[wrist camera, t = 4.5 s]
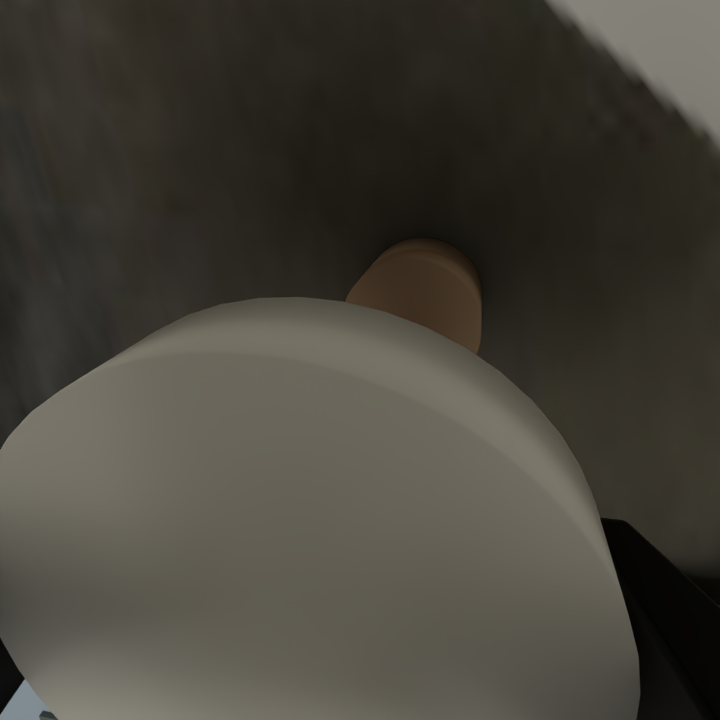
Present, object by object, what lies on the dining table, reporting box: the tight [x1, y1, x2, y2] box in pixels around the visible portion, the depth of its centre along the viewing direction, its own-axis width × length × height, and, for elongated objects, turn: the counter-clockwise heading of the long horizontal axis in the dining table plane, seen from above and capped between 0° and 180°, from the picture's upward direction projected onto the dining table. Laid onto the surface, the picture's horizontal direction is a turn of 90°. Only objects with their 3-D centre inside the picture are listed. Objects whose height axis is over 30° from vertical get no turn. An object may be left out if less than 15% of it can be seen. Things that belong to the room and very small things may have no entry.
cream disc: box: [0, 297, 640, 720], centre depth 6 cm, size 7×7×2 cm
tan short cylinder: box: [345, 238, 482, 355], centre depth 17 cm, size 4×4×4 cm
